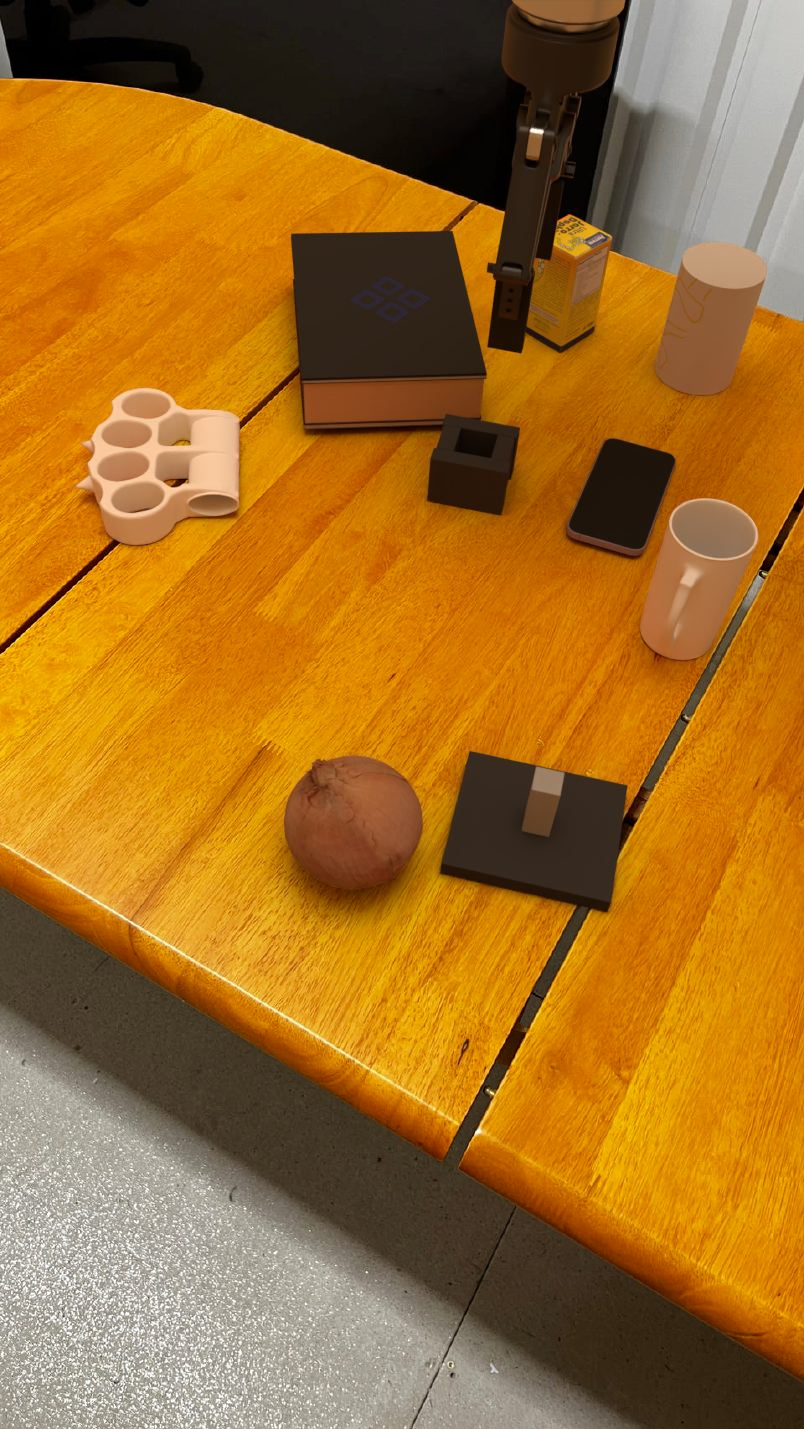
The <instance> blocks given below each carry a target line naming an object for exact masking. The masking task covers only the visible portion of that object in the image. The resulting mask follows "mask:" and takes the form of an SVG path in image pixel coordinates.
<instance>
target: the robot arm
mask: <svg viewBox="0 0 804 1429" xmlns="http://www.w3.org/2000/svg"><path fill="white" fill-rule="evenodd" d="M511 1H512V4H510V6H509V7H508V8H507V9H506V15H505V23H504V26H505V27H504V33H503V42H502V51H501V65H502V68H503V70H504V72H505V73H506V75H507V76H508V77H509V78H510V79H512V80H513V81H514V82H516V83H518V84H520V85H523V86H524V87H525V88H526V90H525V92H524V97H523V103H520V104H519V107H518V111H517V116H516V121H515V127H516V133H515V137H516V139H515V143H514V144H515V145H514V150H513V154H512V158H511V168H512V170H511V176H510V181H509V187H508V193H507V198H506V202H505V203H506V204H505V209H504V215H503V220H502V227H501V232H500V236H499V243H498V247H497V254H496V260H495V263H494V262H490V261H488V262H487V265H486V273H487V274H492V278H493V280H494V281H495V283H494V290H493V298H492V306H491V314H490V321H489V330H488V337H487V345H486V347H487V348H490V349H495V350H500V351H505V352H510V353H515V354H522V353H523V350H524V345H525V339H526V334H527V333H526V327H527V321H528V314H529V308H530V302H531V295H532V289H533V283H534V276H535V271H534V267H533V266H534V261H535V258H538V259H544V260H549V261H550V260H551V256H552V251H553V245H554V239H555V233H556V227H557V221H558V220H559V214H560V210H561V203H562V197H563V191H564V185H565V179H559V178H560V177H563V178H569V179H573V178H574V176H575V170H576V164H577V162H575V161H569V160H568V159H569V156H570V155H571V154H572V149H573V146H572V139H573V137H574V136H573V135H574V130H575V128H576V122H577V121H578V117H579V113H580V108H581V104H582V96H578V94H582V93H587V92H591V91H593V90H595V89H597V88H599V87H601V86H602V85H603V84H605V83H606V81H607V80H608V79H609V77H610V76H611V73H612V70H613V63H614V58H615V52H616V48H617V42H618V37H619V31H620V26H621V22H620V19H619V17H618V15H619V14H620V13H621V12H622V11H623V10H624V8H625V5H626V4H625V3H626V0H511Z"/></svg>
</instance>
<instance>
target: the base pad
mask: <svg viewBox="0 0 804 1429" xmlns="http://www.w3.org/2000/svg"><path fill="white" fill-rule="evenodd" d="M627 792H628V785H627V784H624V783H619V782H615V781H609V780H604V779H601V778H596V777H592V776H587V775H583V774H578V773H573V772H568V771H564V770H560V769H555V768H551V767H546V766H542V765H537V764H532V763H527V762H523V761H518V760H513V759H510V758H505V757H500V756H496V755H490V754H486V753H481V752H477V751H472V750H469V752H468V754H467V759H466V764H465V767H464V771H463V775H462V779H461V783H460V787H459V791H458V795H457V799H456V802H455V807H454V811H453V815H452V820H451V823H450V827H449V831H448V835H447V839H446V842H445V847H444V850H443V855H442V859H441V864H440V869H439V874H441V875H444V876H449V877H453V878H458V879H462V880H466V881H470V882H476V883H479V884H484V885H488V886H493V887H497V888H501V889H506V890H510V891H514V892H518V893H523V894H527V895H532V896H535V897H540V898H544V899H548V900H553V901H557V902H562V903H566V904H570V905H573V906H578V907H584V908H587V909H591V910H596V911H601V912H604V913H608V911H609V909H610V907H611V904H612V901H613V893H614V887H615V878H616V873H617V872H616V871H617V864H618V857H619V850H620V843H621V835H622V829H623V822H624V815H625V809H626V808H625V807H626V800H627Z"/></svg>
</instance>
